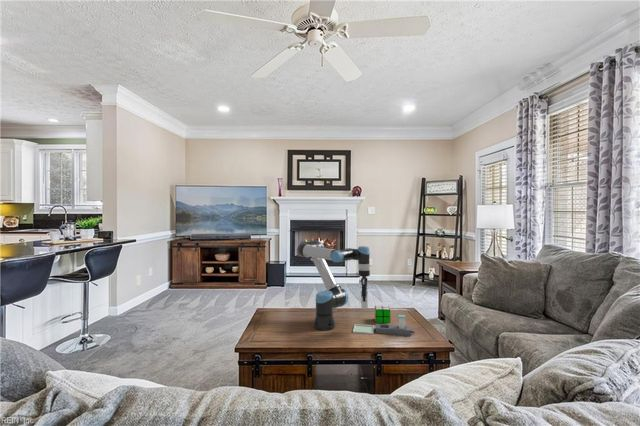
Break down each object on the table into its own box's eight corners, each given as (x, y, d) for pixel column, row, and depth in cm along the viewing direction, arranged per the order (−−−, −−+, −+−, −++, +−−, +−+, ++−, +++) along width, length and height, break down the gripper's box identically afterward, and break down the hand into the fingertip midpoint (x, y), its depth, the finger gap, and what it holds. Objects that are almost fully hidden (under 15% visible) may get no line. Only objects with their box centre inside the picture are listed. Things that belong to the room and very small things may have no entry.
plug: (361, 308, 197) (361, 291, 197) (361, 306, 201) (361, 290, 201) (367, 308, 196) (367, 292, 196) (368, 306, 200) (367, 290, 200)
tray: (352, 333, 194) (352, 331, 194) (354, 326, 207) (354, 324, 207) (373, 334, 191) (373, 332, 191) (374, 327, 204) (374, 325, 204)
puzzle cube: (388, 319, 220) (388, 305, 221) (390, 323, 210) (390, 309, 211) (374, 318, 221) (374, 305, 222) (376, 323, 211) (375, 309, 212)
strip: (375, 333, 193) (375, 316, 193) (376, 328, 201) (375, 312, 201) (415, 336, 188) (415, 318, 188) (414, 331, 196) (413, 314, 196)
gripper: (368, 272, 190) (369, 309, 190) (370, 267, 207) (371, 301, 206) (357, 271, 192) (357, 308, 191) (359, 267, 208) (360, 301, 208)
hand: (364, 305), depth 199 cm, fingers closed on plug, 4 cm apart
